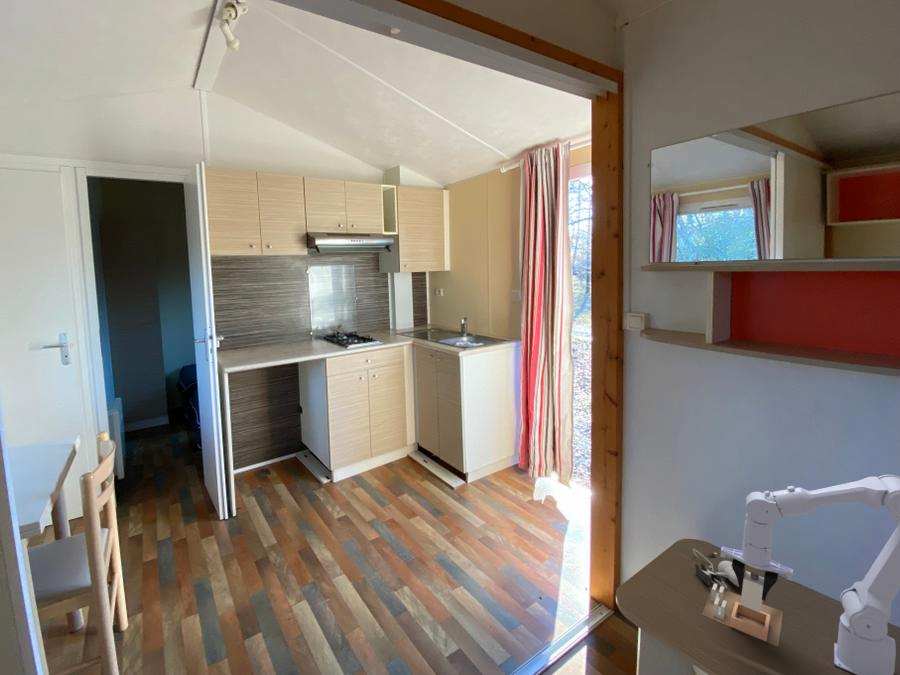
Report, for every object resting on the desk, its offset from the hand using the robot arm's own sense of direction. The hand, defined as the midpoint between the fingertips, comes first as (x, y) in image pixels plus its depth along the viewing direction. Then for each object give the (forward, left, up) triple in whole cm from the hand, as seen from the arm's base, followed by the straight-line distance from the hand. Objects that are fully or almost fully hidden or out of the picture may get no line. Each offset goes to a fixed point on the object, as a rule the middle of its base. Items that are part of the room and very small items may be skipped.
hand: (752, 593), depth 111 cm
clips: (+7, -2, -8) cm, 11 cm away
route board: (+2, -4, -9) cm, 10 cm away
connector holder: (0, 0, -9) cm, 9 cm away
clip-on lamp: (+11, -18, -10) cm, 23 cm away
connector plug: (0, 0, -3) cm, 3 cm away
